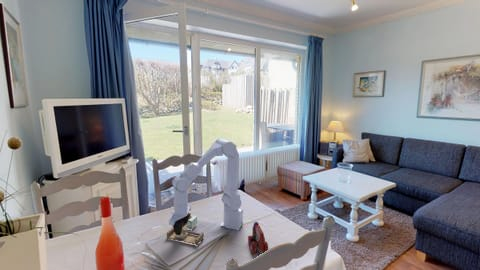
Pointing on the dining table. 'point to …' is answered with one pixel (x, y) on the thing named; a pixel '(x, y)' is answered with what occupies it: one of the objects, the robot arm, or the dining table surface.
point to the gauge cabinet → (192, 222)
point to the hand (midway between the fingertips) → (180, 232)
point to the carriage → (182, 232)
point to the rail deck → (190, 238)
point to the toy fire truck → (257, 239)
